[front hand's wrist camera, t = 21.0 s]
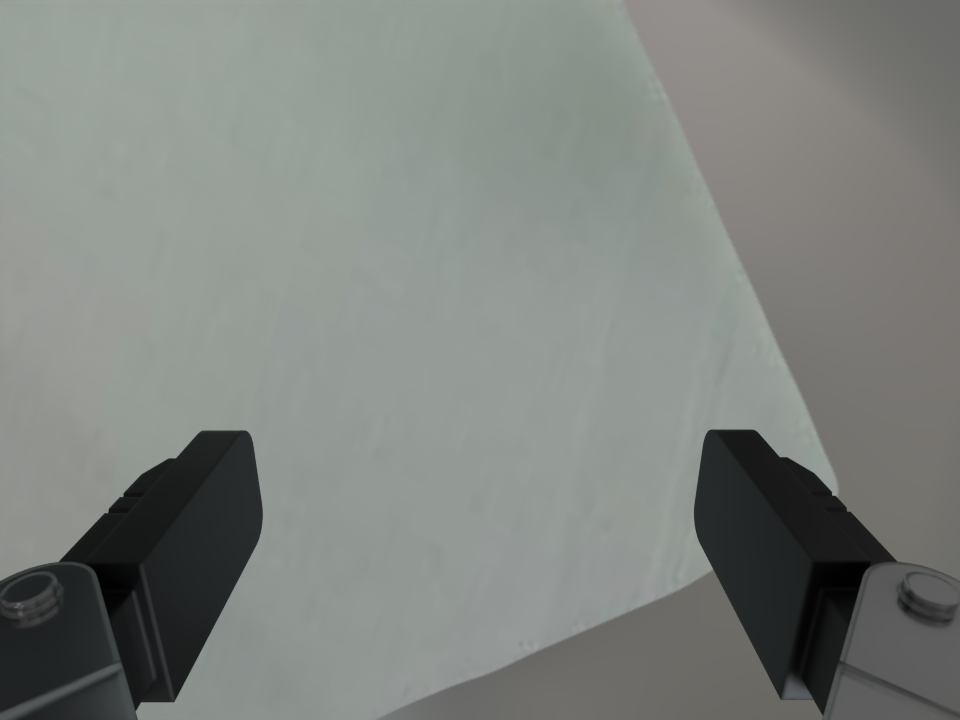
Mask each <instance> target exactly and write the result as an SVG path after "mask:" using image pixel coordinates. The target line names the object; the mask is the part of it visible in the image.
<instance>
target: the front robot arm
mask: <svg viewBox="0 0 960 720" xmlns="http://www.w3.org/2000/svg"><path fill="white" fill-rule="evenodd" d="M262 520H263V509H262V501H261V494H260V487H259V480H258V473H257V467H256V460H255V453H254V446H253V441H252V438H251V436H250V434H249V433H248V432H247V431H201V432H200V433H198V434H197V436H196V437H195V438H194V439H193V440H192V441H191V442H190V443H189V444H188V446H187V447H186V448H185V449H184V450H183V451H182V452H181V453H180V455H179V456H178V457H177V458H169V459H167V460H165V461H164V462H162V463H160V464H159V465H157V466H155V467H154V468H152V469H150V470H148V471H147V472H145V473H143V474H142V475H141V476H140V477H139V478H138V479H137V480H136V481H135V482H134V483H133V484H132V485H131V486H130V487H129V488H128V489H127V490H126V491H125V492H124V496H123V497H120V498H119V499H118V500H117V501H116V502H115V503H114V504H113V505H112V506H111V507H110V508H109V512H108V513H105V514H104V515H103V516H102V517H101V518H100V519H99V520H98V521H97V522H96V523H95V524H94V525H93V526H92V527H91V528H90V529H89V530H88V531H87V533H86V534H85V535H84V536H83V537H82V538H81V539H80V540H79V541H78V542H77V543H76V544H75V545H74V546H73V547H72V548H71V549H70V550H69V551H68V553H67V554H66V555H65V556H64V557H63V558H62V559H61V560H60V561H59V562H55V563H48V564H44V565H39V566H36V567H32V568H29V569H26V570H23V571H21V572H18V573H16V574H14V575H11V576H9V577H7V578H5V579H3V580H1V581H0V720H138V719H137V715H136V710H137V708H138V706H139V705H140V703H141V702H175V700H176V698H177V696H178V694H179V692H180V690H181V688H182V686H183V684H184V682H185V681H186V679H187V677H188V675H189V673H190V671H191V669H192V667H193V665H194V663H195V661H196V660H197V658H198V656H199V654H200V652H201V650H202V648H203V646H204V644H205V642H206V640H207V638H208V637H209V635H210V633H211V631H212V629H213V627H214V625H215V623H216V621H217V619H218V617H219V616H220V614H221V612H222V610H223V608H224V606H225V604H226V602H227V600H228V598H229V596H230V595H231V593H232V591H233V589H234V587H235V585H236V583H237V581H238V579H239V577H240V575H241V574H242V572H243V570H244V568H245V566H246V564H247V562H248V560H249V558H250V556H251V554H252V553H253V551H254V549H255V547H256V545H257V543H258V540H259V537H260V533H261V528H262ZM694 522H695V529H696V533H697V537H698V540H699V542H700V544H701V546H702V548H703V550H704V552H705V554H706V556H707V558H708V560H709V562H710V564H711V566H712V568H713V569H714V571H715V573H716V575H717V577H718V579H719V581H720V583H721V585H722V587H723V589H724V591H725V593H726V595H727V596H728V598H729V600H730V602H731V604H732V606H733V608H734V610H735V612H736V614H737V616H738V618H739V620H740V622H741V624H742V625H743V627H744V629H745V631H746V633H747V635H748V637H749V639H750V641H751V643H752V645H753V647H754V649H755V651H756V653H757V654H758V656H759V658H760V660H761V662H762V664H763V666H764V668H765V670H766V672H767V674H768V676H769V678H770V680H771V682H772V684H773V685H774V687H775V689H776V691H777V693H778V695H779V697H780V699H781V700H814V701H815V703H816V704H817V706H818V708H819V710H820V712H821V713H822V715H823V719H822V720H960V581H959V580H957V579H955V578H953V577H951V576H949V575H946V574H944V573H942V572H939V571H936V570H934V569H931V568H928V567H924V566H921V565H916V564H911V563H905V562H897V561H896V560H895V559H894V558H893V556H892V555H891V554H890V553H889V552H888V551H887V550H886V549H885V548H884V547H883V546H882V545H881V544H880V543H879V542H878V541H877V539H876V538H875V537H874V536H873V535H872V534H871V533H870V532H869V531H868V530H867V529H866V528H865V527H864V526H863V525H862V524H861V522H860V521H859V520H858V519H857V518H856V517H855V516H854V515H853V514H852V513H851V512H847V508H846V506H845V505H844V504H843V503H842V502H841V501H840V500H839V499H838V498H837V497H836V496H832V492H831V491H830V489H829V488H828V487H827V486H826V485H825V484H824V483H823V482H822V481H821V480H820V479H819V478H818V477H817V476H816V475H815V474H814V473H813V472H811V471H809V470H808V469H806V468H804V467H803V466H801V465H799V464H798V463H796V462H794V461H793V460H791V459H789V458H787V457H779V456H778V455H777V454H776V452H775V451H774V450H773V449H772V448H771V447H770V446H769V444H768V443H767V442H766V441H765V440H764V439H763V438H762V437H761V435H760V434H759V433H758V432H757V431H755V430H709V431H708V432H707V434H706V436H705V439H704V443H703V449H702V456H701V463H700V470H699V477H698V484H697V491H696V498H695V505H694Z"/></svg>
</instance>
